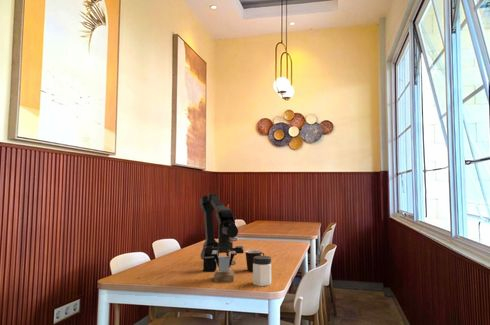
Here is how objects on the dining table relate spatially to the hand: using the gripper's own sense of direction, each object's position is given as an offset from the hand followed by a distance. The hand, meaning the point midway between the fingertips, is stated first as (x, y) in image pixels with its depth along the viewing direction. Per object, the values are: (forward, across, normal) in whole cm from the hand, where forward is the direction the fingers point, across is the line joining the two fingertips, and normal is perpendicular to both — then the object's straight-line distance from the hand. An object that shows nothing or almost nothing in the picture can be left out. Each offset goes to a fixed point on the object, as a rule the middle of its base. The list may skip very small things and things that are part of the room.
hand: (224, 267), depth 172 cm
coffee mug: (+6, +16, +19) cm, 25 cm away
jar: (+6, +18, -8) cm, 21 cm away
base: (+6, 0, 0) cm, 6 cm away
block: (+1, 0, 0) cm, 1 cm away
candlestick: (+6, 0, +37) cm, 37 cm away
